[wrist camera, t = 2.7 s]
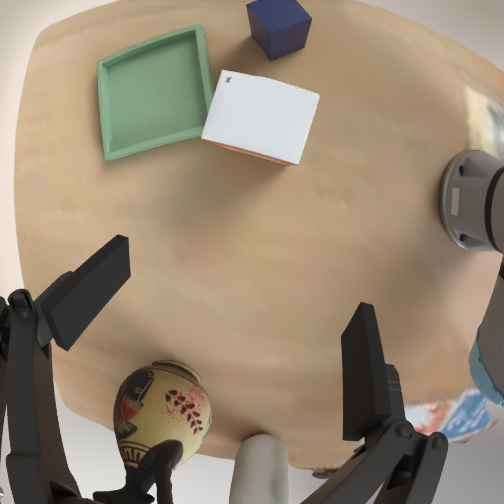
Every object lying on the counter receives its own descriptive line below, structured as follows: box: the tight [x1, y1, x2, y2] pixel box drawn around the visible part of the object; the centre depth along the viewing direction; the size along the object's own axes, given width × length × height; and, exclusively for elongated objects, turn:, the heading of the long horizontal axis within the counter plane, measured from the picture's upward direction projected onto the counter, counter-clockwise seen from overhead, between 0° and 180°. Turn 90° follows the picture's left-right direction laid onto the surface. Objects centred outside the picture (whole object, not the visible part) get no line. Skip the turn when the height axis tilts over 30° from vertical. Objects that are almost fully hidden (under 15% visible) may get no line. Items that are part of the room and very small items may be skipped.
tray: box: [97, 24, 214, 161], centre depth 29 cm, size 16×16×2 cm
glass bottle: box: [229, 434, 288, 504], centre depth 34 cm, size 10×10×28 cm
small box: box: [201, 70, 320, 166], centre depth 25 cm, size 8×6×13 cm
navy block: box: [246, 0, 312, 61], centre depth 24 cm, size 5×5×8 cm
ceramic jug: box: [93, 360, 212, 504], centre depth 29 cm, size 17×15×30 cm
